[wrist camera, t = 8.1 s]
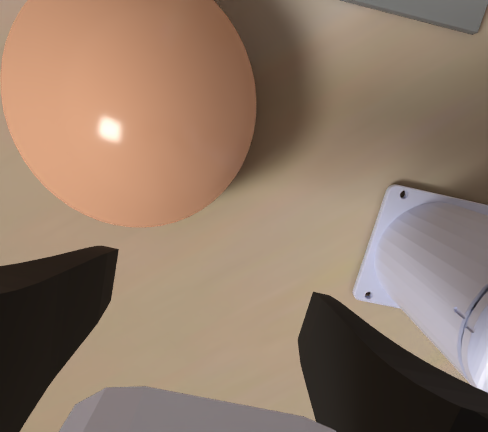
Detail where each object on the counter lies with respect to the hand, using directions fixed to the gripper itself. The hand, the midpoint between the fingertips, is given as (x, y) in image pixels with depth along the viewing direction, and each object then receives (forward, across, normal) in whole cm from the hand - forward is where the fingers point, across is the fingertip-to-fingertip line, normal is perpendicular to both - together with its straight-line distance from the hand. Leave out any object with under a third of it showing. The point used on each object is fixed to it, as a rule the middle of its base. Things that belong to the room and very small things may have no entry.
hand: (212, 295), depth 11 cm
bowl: (+10, +6, -6) cm, 13 cm away
